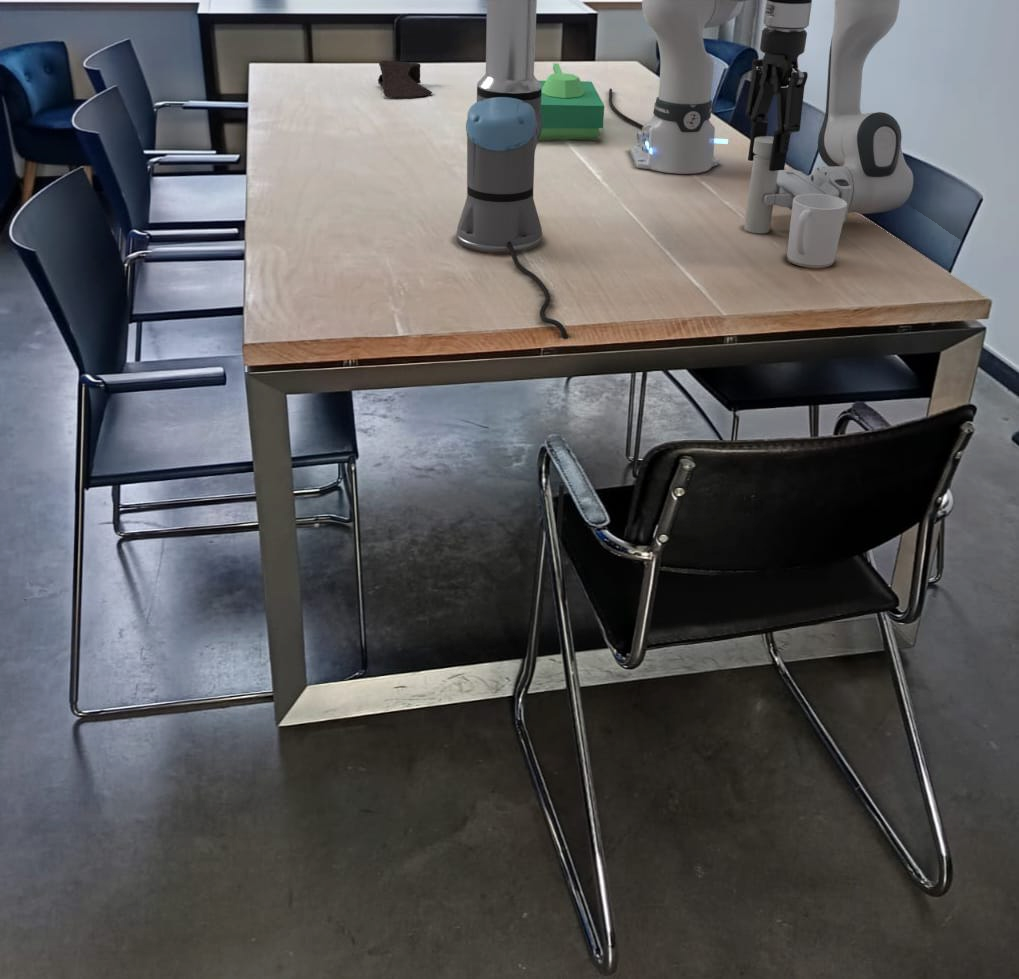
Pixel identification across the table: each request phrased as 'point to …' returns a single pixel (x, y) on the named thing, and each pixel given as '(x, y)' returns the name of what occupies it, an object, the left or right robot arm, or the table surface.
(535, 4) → the left robot arm
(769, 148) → the lid
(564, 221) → the table surface
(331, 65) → the table surface
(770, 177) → the grey bottle
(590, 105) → the toy tank
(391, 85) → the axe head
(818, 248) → the mug
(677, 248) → the table surface
